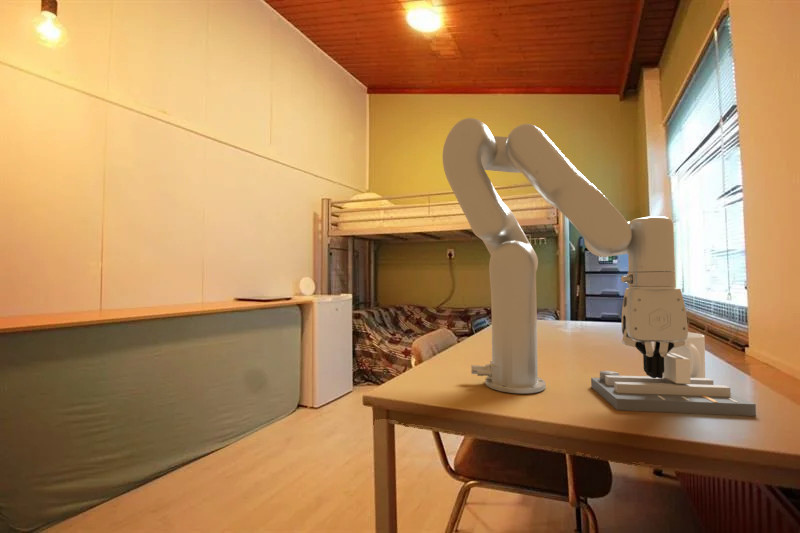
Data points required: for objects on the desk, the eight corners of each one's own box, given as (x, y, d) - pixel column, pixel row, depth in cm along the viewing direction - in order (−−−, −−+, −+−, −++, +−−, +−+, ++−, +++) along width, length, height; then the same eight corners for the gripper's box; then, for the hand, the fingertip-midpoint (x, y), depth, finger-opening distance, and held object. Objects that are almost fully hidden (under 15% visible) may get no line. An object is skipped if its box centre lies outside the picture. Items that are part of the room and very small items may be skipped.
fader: (674, 392, 72) (674, 358, 72) (659, 384, 78) (658, 352, 78) (692, 393, 72) (691, 358, 72) (675, 384, 77) (675, 352, 77)
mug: (721, 391, 80) (720, 340, 80) (674, 387, 82) (673, 339, 83) (695, 375, 92) (694, 332, 92) (655, 373, 94) (654, 330, 94)
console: (617, 410, 70) (616, 389, 70) (591, 386, 84) (591, 369, 84) (755, 416, 66) (755, 394, 66) (705, 390, 80) (704, 372, 80)
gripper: (617, 282, 73) (620, 380, 73) (706, 281, 71) (709, 382, 70) (603, 281, 80) (605, 370, 80) (683, 280, 78) (685, 372, 78)
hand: (654, 376), depth 75 cm, fingers closed
